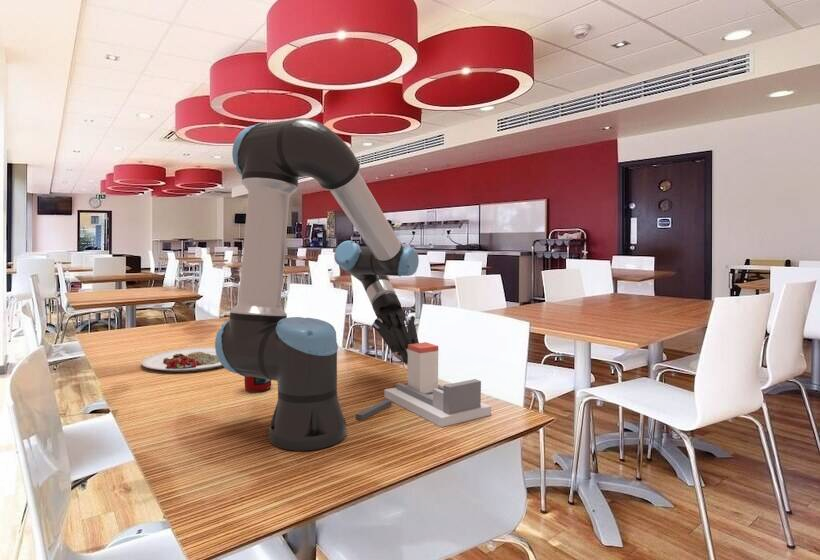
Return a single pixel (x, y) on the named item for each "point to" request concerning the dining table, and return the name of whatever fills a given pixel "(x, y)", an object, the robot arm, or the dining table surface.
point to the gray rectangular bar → (373, 409)
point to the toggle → (423, 367)
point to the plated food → (183, 360)
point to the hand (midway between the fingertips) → (416, 372)
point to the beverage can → (256, 384)
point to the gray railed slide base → (442, 402)
